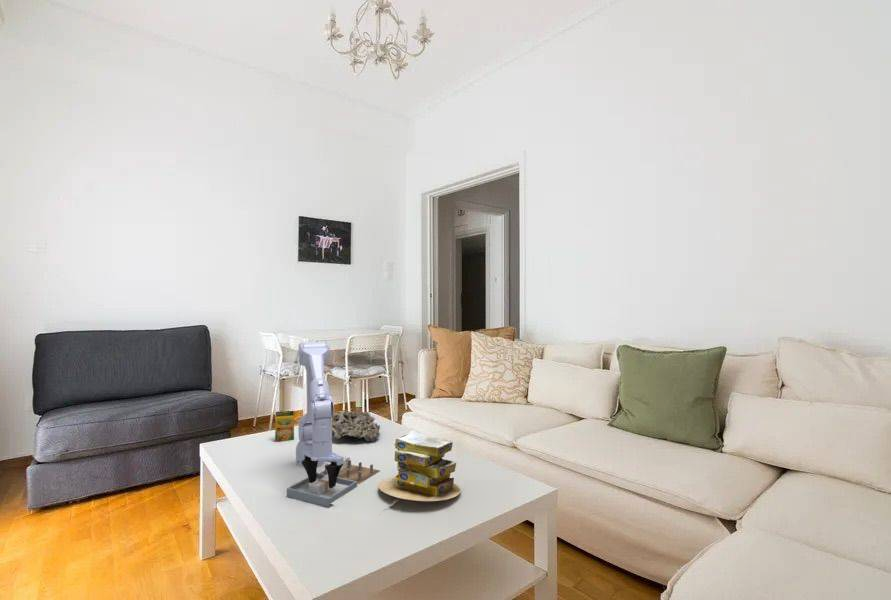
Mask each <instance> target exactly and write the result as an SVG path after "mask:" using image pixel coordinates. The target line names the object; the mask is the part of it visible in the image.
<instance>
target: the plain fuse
mask: <svg viewBox="0 0 891 600" xmlns="http://www.w3.org/2000/svg"><path fill="white" fill-rule="evenodd" d="M341 456H342V457H343V461H344V463H343V466H342V467H341V469H340V471H342V470H344V469H345V468H346V469H347V468H348V461H349V460H351V458H350V456H345V455H341ZM329 464H331V463H330V462H326V463H325V465H326V466H327V465H329ZM340 471H339V472H340ZM326 474H328V473H327V470H326Z"/></svg>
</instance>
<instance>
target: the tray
mask: <svg viewBox="0 0 891 600" xmlns="http://www.w3.org/2000/svg"><path fill="white" fill-rule="evenodd" d="M324 476H325V474H321V472H317V476H316V480H317V479H318V480H319V479H322V478H323V477H324ZM307 484H310V482H309V479H308V477H306V478H304V479H302V480H300V481H298V482H296V483H294V484H292V485H290V486H288V487H287V488H286V497H287V498H290V499H293V500H294V499H295V500H298V501H302V502H305V503H309V504H313V505H317V506H321V507H325V508H328V509H329V508H331V507H333V506H334V504H332V503H333V502H335V501H337V500H338V499H340V498H341V497H344V496H345V495H346V494H347V493H350V492H351V491H352V490H354V489H355V488H357V487H358V484H357V481H352V480H348V479H343V478H339V477H337V481H336V484H340V485H345V487H344V488H342V489H341V490H339V491H338V492H336V493H335V494H333V495H332V496H330V497H326V496H323V495H315V494H311V493H309V492H307V491H302V490H298V489H300V488H301V487H303V486H305V485H307Z"/></svg>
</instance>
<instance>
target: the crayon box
mask: <svg viewBox="0 0 891 600" xmlns="http://www.w3.org/2000/svg"><path fill="white" fill-rule="evenodd" d="M284 413H286V414H284ZM294 413H295V410H284V411H276V412H275V421H274V423H275V425H274V426H275V429H274V432H275V433H274V435H275V436H274V437H275V438H274V441H275V442H284V441H294V440H295V415H294Z"/></svg>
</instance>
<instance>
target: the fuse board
mask: <svg viewBox="0 0 891 600" xmlns="http://www.w3.org/2000/svg"><path fill="white" fill-rule="evenodd" d="M380 472H381V470H379V469H376V468H374V464H372V463H371V464H370V465H369V467H364V466H363V464H362V462H361V461H360V462H358V465H355V464H352V460H351V459H350V460H349V461H348V468H347V469H346V468H345V469H344V470H342V471H340V472H339V474H338V477H339V478H343V479H348V480H352V481H357V485H361V484H362V483H364V482H365V481H367V480H368V479H370V478H371V477H373V476H375V475H376V474H377V473H380ZM320 473H321V474H325V475H328V474H326V464H324V470H323V471H321V472H320Z"/></svg>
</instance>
